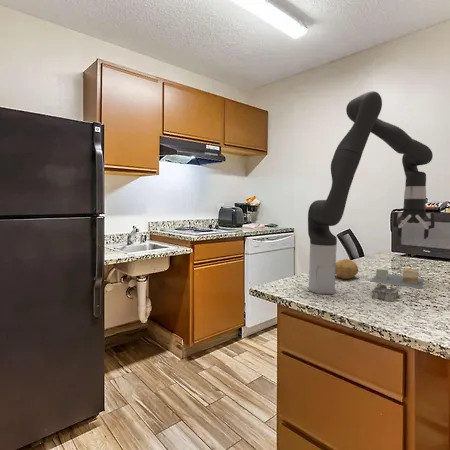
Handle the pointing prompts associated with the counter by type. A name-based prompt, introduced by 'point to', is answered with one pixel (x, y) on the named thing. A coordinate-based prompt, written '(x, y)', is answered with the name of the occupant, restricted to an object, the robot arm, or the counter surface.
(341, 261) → the potato
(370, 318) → the counter surface
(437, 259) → the counter surface
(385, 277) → the sage block
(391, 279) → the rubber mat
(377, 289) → the miniature stone castle
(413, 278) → the maple block
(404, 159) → the robot arm
